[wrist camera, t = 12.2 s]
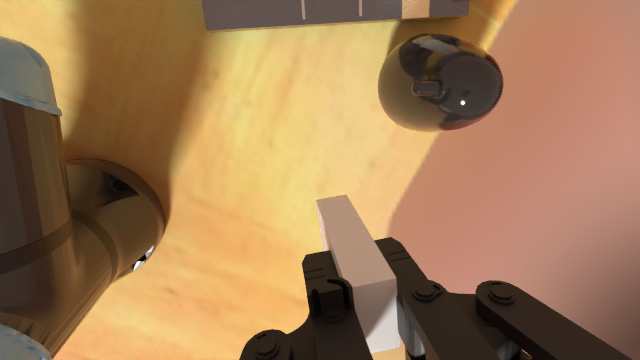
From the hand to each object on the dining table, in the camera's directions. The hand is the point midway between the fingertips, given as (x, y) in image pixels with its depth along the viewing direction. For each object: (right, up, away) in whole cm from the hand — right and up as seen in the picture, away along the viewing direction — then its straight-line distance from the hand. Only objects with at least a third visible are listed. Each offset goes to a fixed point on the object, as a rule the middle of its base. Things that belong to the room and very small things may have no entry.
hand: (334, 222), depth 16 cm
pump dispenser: (+10, +14, +23) cm, 29 cm away
